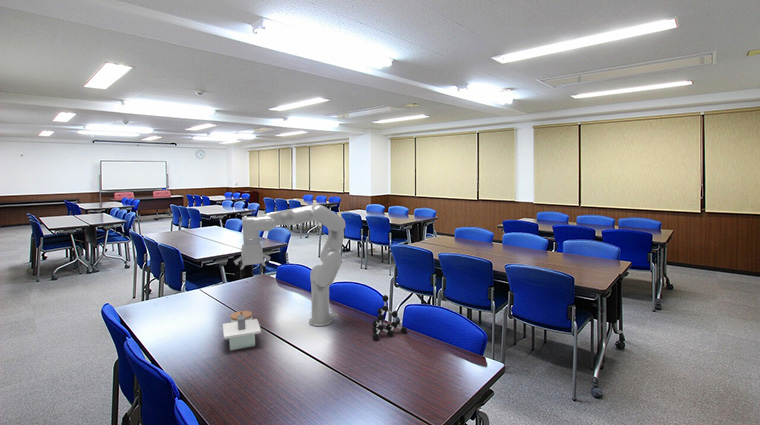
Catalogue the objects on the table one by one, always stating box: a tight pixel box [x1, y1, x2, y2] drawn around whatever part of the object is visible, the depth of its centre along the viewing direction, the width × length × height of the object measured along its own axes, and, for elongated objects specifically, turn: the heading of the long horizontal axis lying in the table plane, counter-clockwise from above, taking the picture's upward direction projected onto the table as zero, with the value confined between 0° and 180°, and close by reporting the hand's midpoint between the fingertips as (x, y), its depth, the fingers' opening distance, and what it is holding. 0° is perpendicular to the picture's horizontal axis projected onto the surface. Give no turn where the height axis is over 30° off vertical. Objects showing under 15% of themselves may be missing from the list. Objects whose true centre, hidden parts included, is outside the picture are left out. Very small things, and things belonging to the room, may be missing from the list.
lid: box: [222, 315, 262, 340], centre depth 178 cm, size 16×16×6 cm
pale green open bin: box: [228, 334, 256, 351], centre depth 178 cm, size 11×11×7 cm
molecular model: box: [372, 294, 408, 341], centre depth 189 cm, size 18×20×20 cm
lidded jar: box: [230, 310, 253, 323], centre depth 195 cm, size 11×11×9 cm
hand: (253, 275), depth 187 cm, fingers open, 9 cm apart
